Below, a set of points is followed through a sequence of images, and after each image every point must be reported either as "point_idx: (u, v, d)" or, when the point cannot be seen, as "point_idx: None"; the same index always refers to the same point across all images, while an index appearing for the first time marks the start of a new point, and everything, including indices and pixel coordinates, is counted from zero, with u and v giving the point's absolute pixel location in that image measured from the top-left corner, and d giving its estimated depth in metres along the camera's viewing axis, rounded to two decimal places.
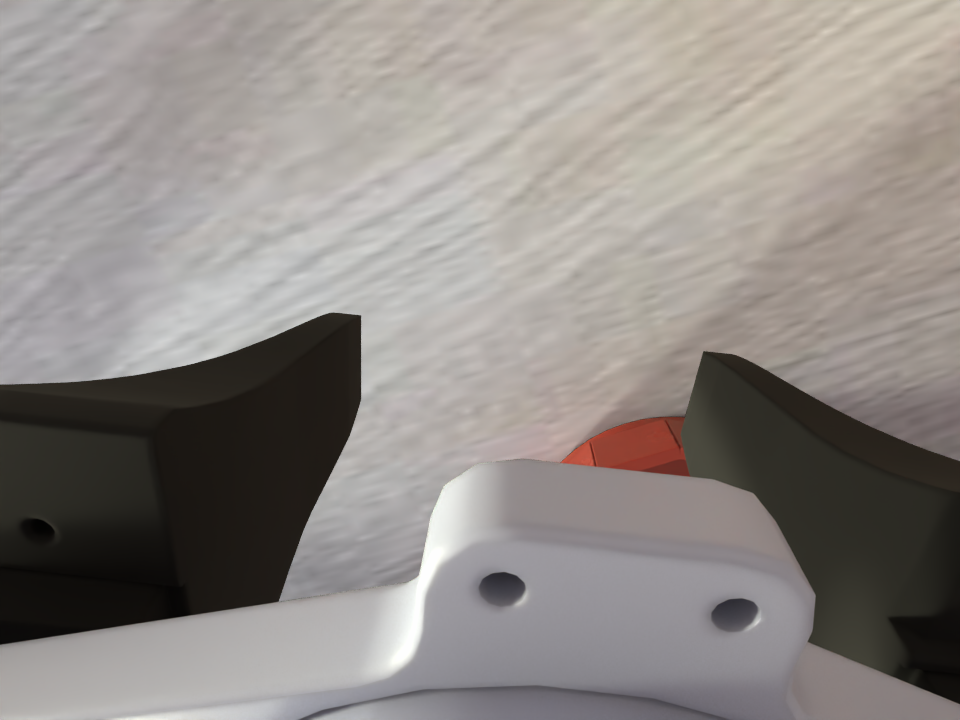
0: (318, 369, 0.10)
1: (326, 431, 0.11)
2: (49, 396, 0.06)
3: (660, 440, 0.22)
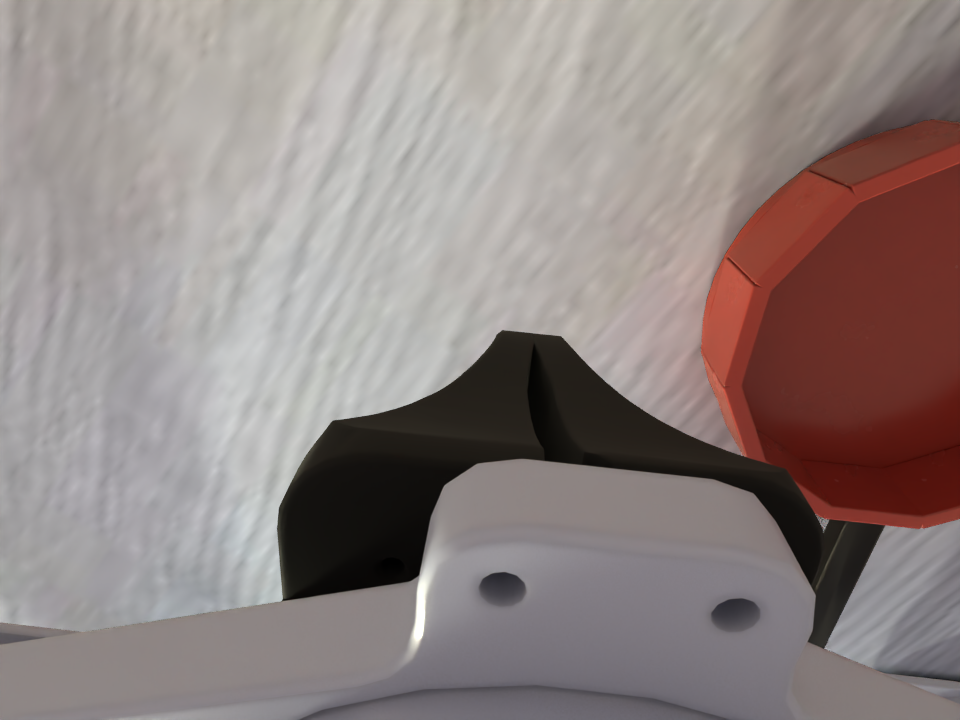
0: None
1: None
2: (417, 436, 0.06)
3: (817, 196, 0.15)
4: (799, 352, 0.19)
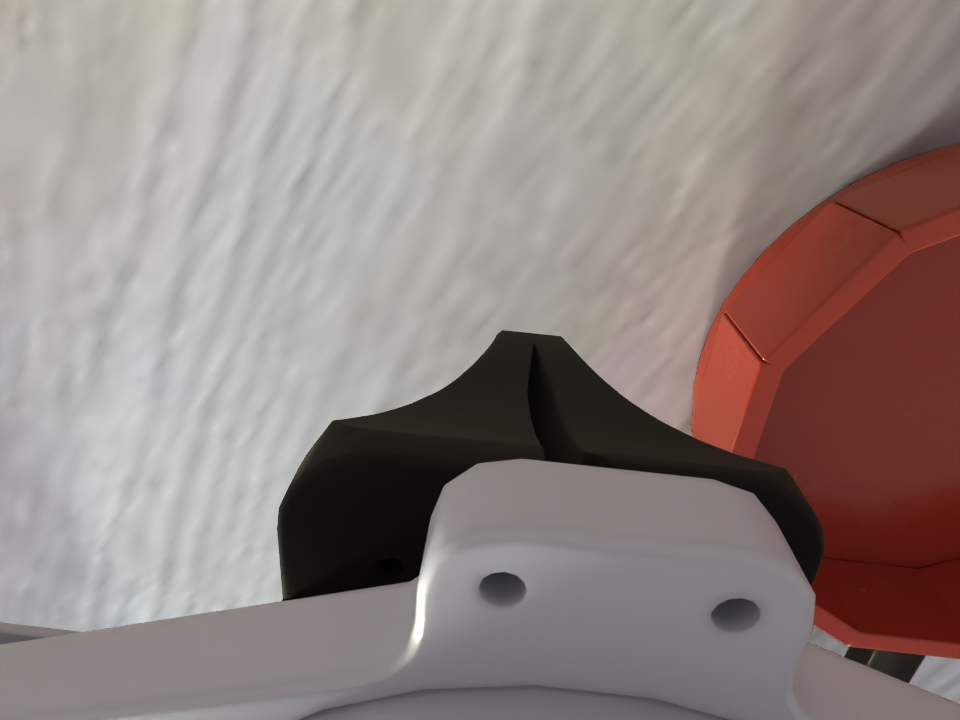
0: None
1: None
2: (417, 436, 0.06)
3: (848, 241, 0.11)
4: (818, 431, 0.14)
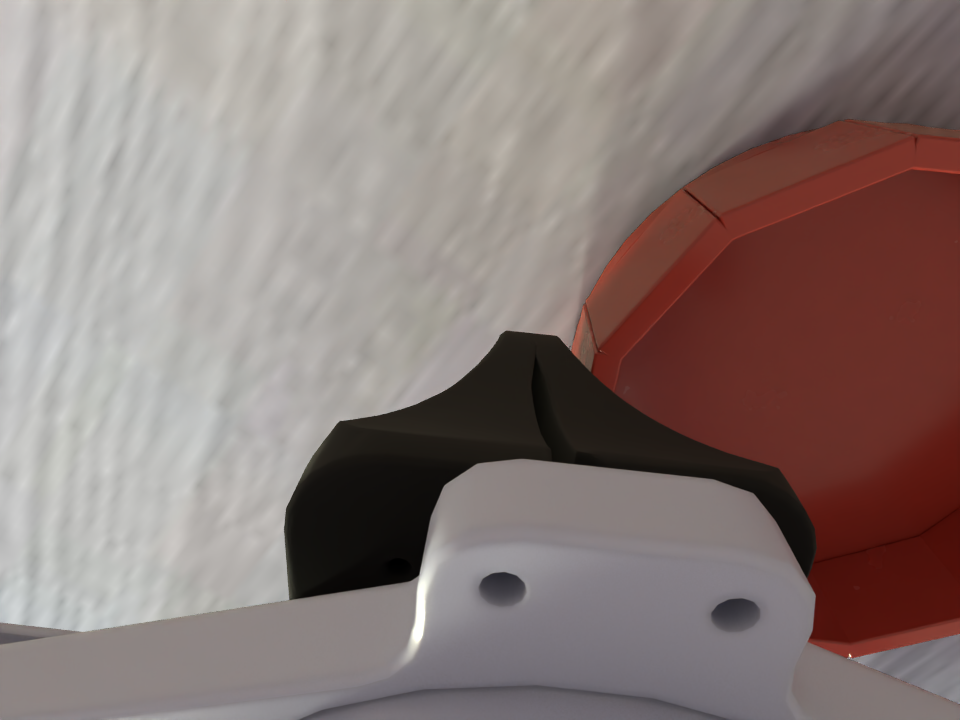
0: None
1: None
2: (425, 436, 0.06)
3: (682, 228, 0.11)
4: (692, 424, 0.14)
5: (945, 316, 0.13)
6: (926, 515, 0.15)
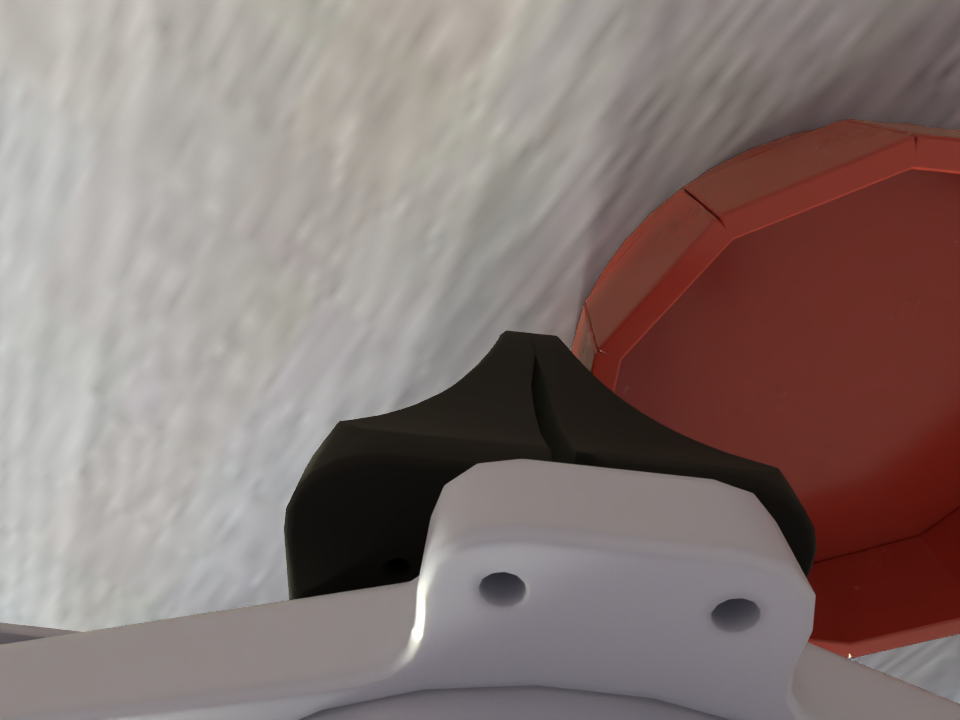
0: None
1: None
2: (424, 436, 0.06)
3: (681, 228, 0.11)
4: (692, 424, 0.14)
5: (945, 316, 0.13)
6: (926, 515, 0.15)
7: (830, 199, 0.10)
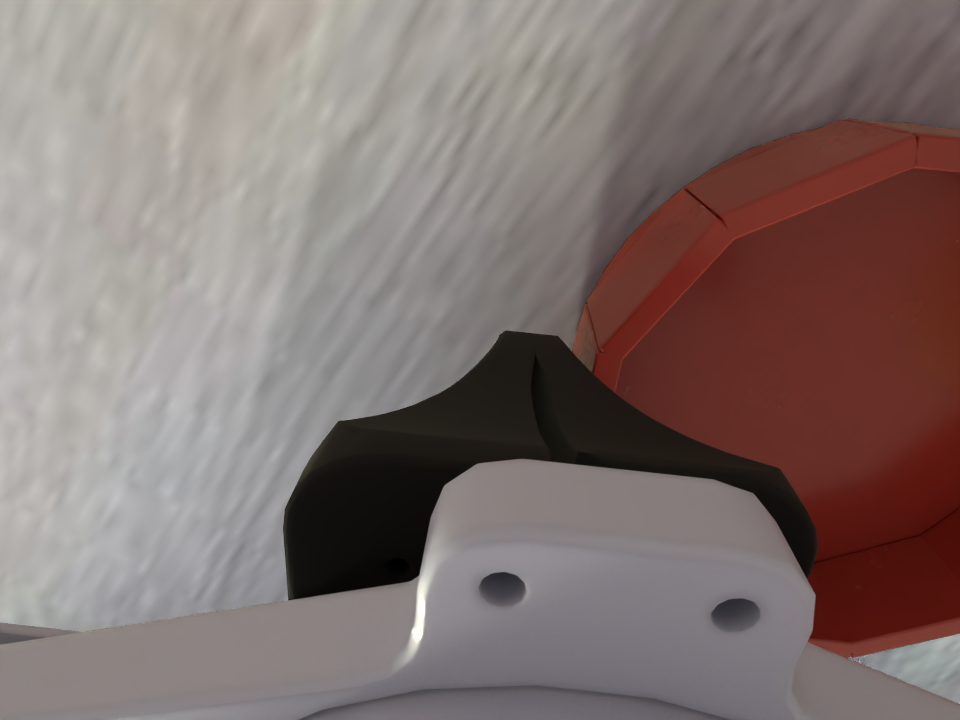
0: None
1: None
2: (423, 436, 0.06)
3: (683, 227, 0.11)
4: (693, 424, 0.14)
5: (946, 315, 0.13)
6: (927, 514, 0.15)
7: (831, 198, 0.10)
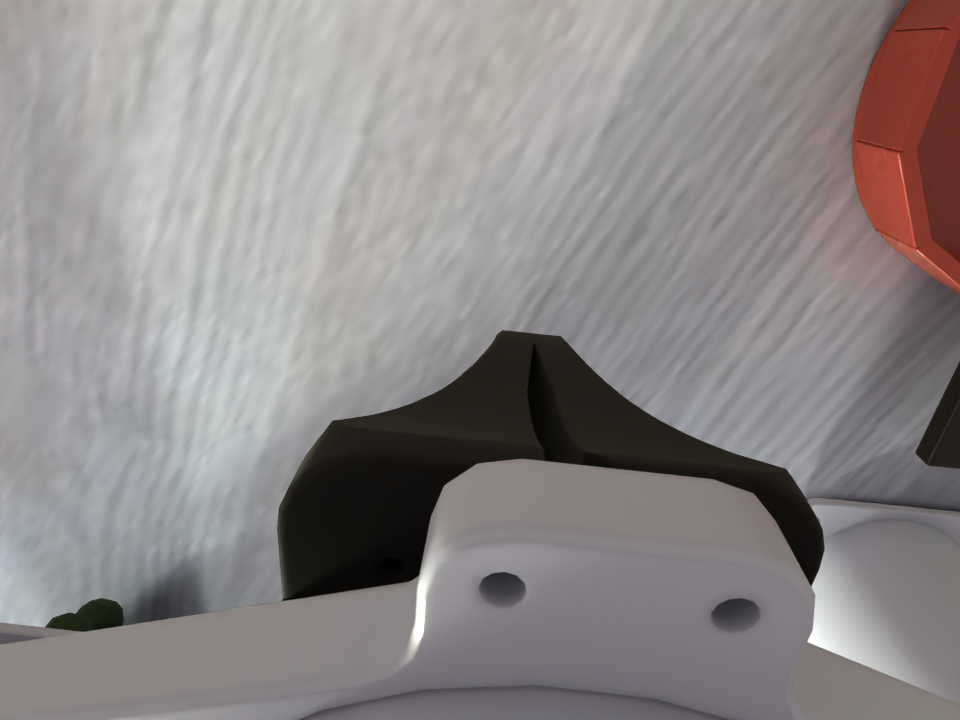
0: None
1: None
2: (417, 436, 0.06)
3: None
4: (956, 141, 0.18)
5: None
6: None
7: None
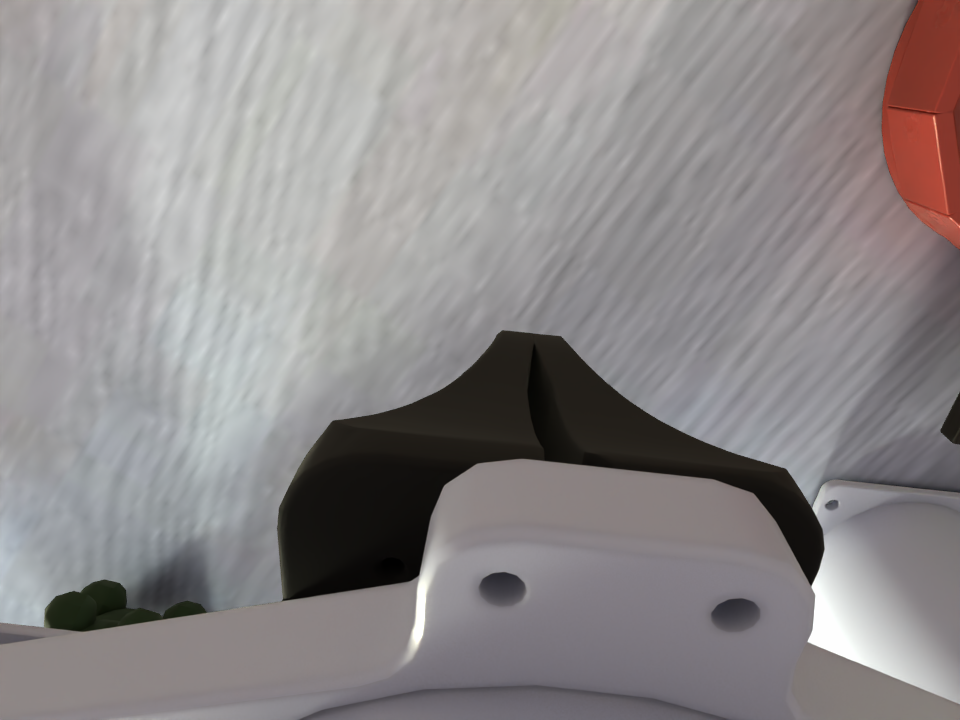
0: None
1: None
2: (417, 435, 0.06)
3: None
4: None
5: None
6: None
7: None
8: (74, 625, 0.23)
